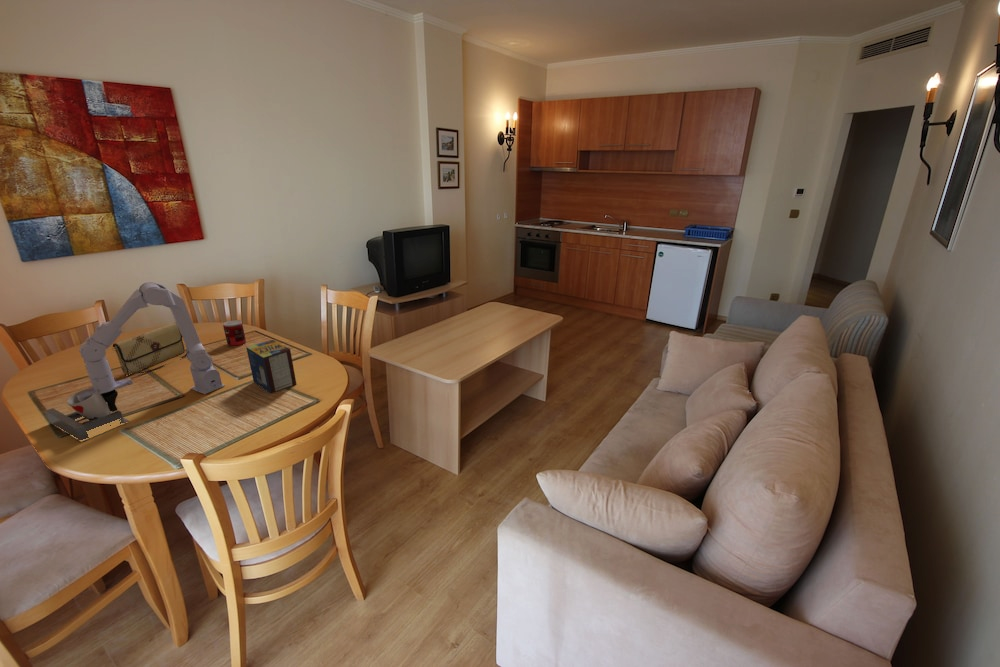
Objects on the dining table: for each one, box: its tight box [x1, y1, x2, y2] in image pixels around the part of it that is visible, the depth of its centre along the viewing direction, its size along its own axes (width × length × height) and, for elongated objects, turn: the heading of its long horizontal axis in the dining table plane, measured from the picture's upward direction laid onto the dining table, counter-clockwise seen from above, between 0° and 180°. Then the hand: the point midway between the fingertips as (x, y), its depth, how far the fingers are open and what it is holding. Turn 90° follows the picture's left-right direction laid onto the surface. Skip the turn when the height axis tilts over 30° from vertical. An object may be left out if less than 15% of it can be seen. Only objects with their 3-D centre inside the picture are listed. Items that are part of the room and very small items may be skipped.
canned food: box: [222, 319, 247, 347], centre depth 208 cm, size 8×8×11 cm
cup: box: [66, 386, 111, 422], centre depth 144 cm, size 8×8×10 cm
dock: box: [44, 407, 130, 440], centre depth 144 cm, size 22×13×5 cm, turn 63°
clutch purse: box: [111, 321, 187, 376], centre depth 185 cm, size 30×7×15 cm, turn 166°
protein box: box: [246, 339, 297, 394], centre depth 170 cm, size 10×15×16 cm
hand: (113, 410), depth 150 cm, fingers closed, pressing on cup
